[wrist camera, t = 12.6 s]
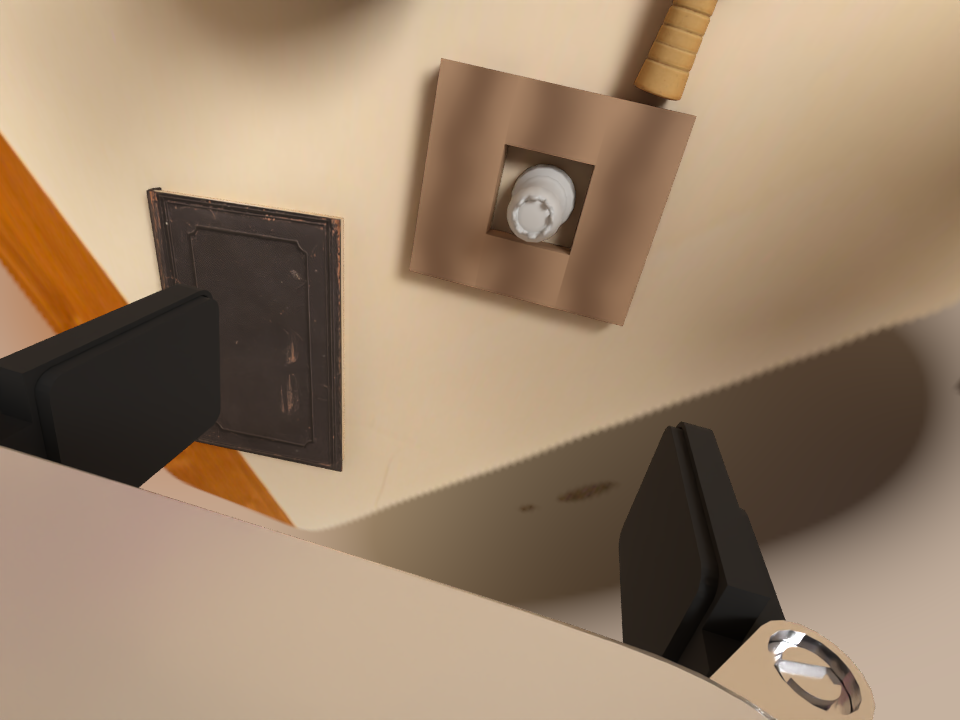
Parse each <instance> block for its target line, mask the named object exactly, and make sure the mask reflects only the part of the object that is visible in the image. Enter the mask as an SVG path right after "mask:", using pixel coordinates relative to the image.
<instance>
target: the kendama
mask: <svg viewBox="0 0 960 720" xmlns="http://www.w3.org/2000/svg"><path fill="white" fill-rule="evenodd" d="M717 1H718V0H673V1H672V3H673V5H672V6H671V7H670V8H669V10H668V12H667V14H666V17H665V19H664V24H663V25H662V26H661V28H660V30H659V32H658V34H657V36H656V39H655V41H654V43H653V45H652V47H651V49H650V51H649V54H648V58H647V59H646V60H645V62H644V64H643V66H642V68H641V70H640V72H639V74H638V76H637V78H636V80H635V82H634V85H635V86H636V87H637V88H639V89H641V90H644V91H646V92H648V93H651V94H653V95H656V96H659V97H662V98H665V99H669V100H674V101H677V100H680V99H681V96H682V93H683V90H684V88H685V85H686V82H687V79H688V76H689V71H690V70H691V68H692V65H693V63H694V60H695V57H696V54H697V52H698V49H699V47H700V44H701V42H702V37H703V36H704V34H705V31H706V29H707V26H708V24H709V22H710V18H709V17H710V16H712V13H713V11H714V8H715V6H716V3H717Z"/></svg>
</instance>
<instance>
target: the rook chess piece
mask: <svg viewBox="0 0 960 720" xmlns="http://www.w3.org/2000/svg"><path fill="white" fill-rule="evenodd" d="M575 198H576V192H575V188H574V185H573V181H572V180H571V179H570V177H569V176H568V175H567V174H566V173H565V171H564V170H562V169H560V168H558V167H556V166H554V165H545V164H539V165H536V166H534V167H531V168H528V169H527V170H526V171H525V172H523V173H522V174H521V175H520V176H519V177H518V179H517V181H516V183H515V185H514V187H513V189H512V196H511V201H510V203H509V205H508V207H507V220H508V223H509V226H510V229H511V230H512V231H513V232H514V234H515V235H516V236H517V237H519V238H521V239H522V240H524V241H526V242H537V243H538V242H541V241H544V240H547V239H549V238H550V237H551V236H552V235H553V234H555V233H556V232H557V230H558V228H559V226H560V225H562V224H563V223H564V222H565V221H566V220H567V219H568V218H569V216H570V214H571V212H572V211H573V209H574V207H575Z"/></svg>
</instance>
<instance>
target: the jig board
mask: <svg viewBox="0 0 960 720" xmlns="http://www.w3.org/2000/svg"><path fill="white" fill-rule="evenodd" d="M695 119H696V116H693V115H689V114H685V113H680V112H676V111H672V110H667V109H663V108H658V107H654V106H650V105H645V104H641V103H636V102H632V101H628V100H623V99H619V98H614V97H610V96H606V95H601V94H597V93H592V92H588V91H584V90H579V89H575V88H570V87H566V86H562V85H557V84H553V83H548V82H544V81H540V80H535V79H531V78H526V77H522V76H518V75H513V74H509V73H505V72H500V71H496V70H491V69H487V68H483V67H478V66H474V65H469V64H465V63H461V62H456V61H452V60H447V59H443V58H441V64H440V70H439V77H438V84H437V90H436V97H435V104H434V110H433V117H432V124H431V130H430V137H429V143H428V150H427V157H426V163H425V170H424V177H423V183H422V190H421V196H420V203H419V210H418V216H417V223H416V230H415V236H414V243H413V250H412V256H411V263H410V269H409V271H413V272H416V273H420V274H424V275H428V276H432V277H436V278H440V279H443V280H447V281H451V282H455V283H459V284H463V285H466V286H470V287H474V288H478V289H482V290H486V291H489V292H493V293H497V294H501V295H505V296H509V297H512V298H516V299H520V300H524V301H528V302H532V303H536V304H539V305H543V306H547V307H551V308H555V309H559V310H562V311H566V312H570V313H574V314H578V315H582V316H585V317H589V318H593V319H597V320H601V321H605V322H609V323H612V324H616V325H620V326H623V324H624V321H625V318H626V315H627V312H628V310H629V307H630V304H631V301H632V298H633V295H634V292H635V290H636V287H637V284H638V281H639V278H640V275H641V273H642V270H643V267H644V264H645V261H646V258H647V256H648V253H649V250H650V247H651V244H652V241H653V238H654V236H655V233H656V230H657V227H658V224H659V221H660V219H661V216H662V213H663V210H664V207H665V204H666V202H667V199H668V196H669V193H670V190H671V187H672V184H673V182H674V179H675V176H676V173H677V170H678V167H679V165H680V162H681V159H682V156H683V153H684V150H685V148H686V145H687V142H688V139H689V136H690V133H691V131H692V128H693V125H694V122H695ZM508 145H511V146H515V147H520V148H524V149H528V150H532V151H536V152H541V153H545V154H549V155H553V156H557V157H562V158H566V159H570V160H574V161H578V162H583V163H587V164H591V165H594V169H593V172H592V176H591V179H590V183H589V186H588V190H587V193H586V197H585V200H584V204H583V207H582V211H581V214H580V218H579V221H578V225H577V228H576V232H575V235H574V239H573V242H572V246H571V249H570V248H566V247H562V246H558V245H554V244H550V243H546V242H542V241H541V242H538V243H537V242H526V241H524V240H522V239H521V238H519V237H517V236H516V235H515V234H511V233H507V232H503V231H499V230H495V229H491V224H492V219H493V215H494V210H495V205H496V201H497V196H498V191H499V187H500V182H501V177H502V173H503V168H504V163H505V158H506V154H507V149H508Z"/></svg>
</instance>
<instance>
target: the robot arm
mask: <svg viewBox="0 0 960 720" xmlns="http://www.w3.org/2000/svg"><path fill="white" fill-rule="evenodd" d="M220 410H221V397H220V339H219V306H218V303H217V301H216V300H214V299H213V297H212V295H211V293H210V292H209V291H207V290H203V289H200V288H196V287H192V286H189V285H185V284H181V283H179V284H175V285H173V286H171V287H168V288H166V289H164V290H161V291H159V292H156V293H154V294H152V295H149V296H147V297H145V298H142V299H140V300H138V301H135V302H133V303H131V304H128V305H126V306H124V307H121V308H119V309H116V310H114V311H112V312H109V313H107V314H105V315H102V316H100V317H98V318H95V319H93V320H91V321H88V322H86V323H84V324H81V325H79V326H76V327H74V328H72V329H69V330H67V331H65V332H62V333H60V334H58V335H55V336H53V337H51V338H48V339H46V340H44V341H41V342H39V343H36V344H34V345H32V346H29V347H27V348H25V349H22V350H20V351H18V352H15V353H13V354H11V355H8V356H6V357H4V358H1V359H0V720H872V719H873V715H874V710H875V703H874V698H873V694H872V690H871V688H870V687H869V685H868V683H867V681H866V679H865V677H864V675H863V674H862V673H861V671H860V670H859V669H858V668H857V666H856V665H855V664H854V663H853V662H852V660H851V659H850V658H849V657H848V656H847V655H846V654H845V653H843V651H842V650H840V649H839V648H838V647H837V646H836V645H835V644H834V643H832V642H831V641H829V640H828V639H826V638H825V637H823V636H822V635H820V634H819V633H818V632H816V631H814V630H812V629H809V628H807V627H805V626H803V625H801V624H798V623H793V622H789V621H786V620H785V618H784V615H783V612H782V609H781V607H780V604H779V601H778V599H777V595H776V593H775V590H774V587H773V584H772V582H771V579H770V576H769V573H768V570H767V568H766V565H765V562H764V560H763V557H762V554H761V551H760V548H759V546H758V543H757V540H756V537H755V534H754V532H753V529H752V526H751V524H750V521H749V518H748V516H747V514H746V512H745V510H743V509H741V508H739V505H738V502H737V500H736V497H735V494H734V491H733V488H732V485H731V483H730V479H729V477H728V474H727V471H726V468H725V465H724V462H723V459H722V456H721V454H720V451H719V448H718V445H717V442H716V439H715V436H714V434H713V432H712V430H710V429H707V428H702V427H699V426H696V425H692V424H688V423H685V422H680V423H679V424H678V425H677V427H676V428H675V427H671V426H668V427H667V428H666V429H665V431H664V433H663V436H662V438H661V440H660V442H659V445H658V447H657V449H656V452H655V454H654V456H653V458H652V461H651V463H650V465H649V468H648V470H647V472H646V475H645V477H644V479H643V482H642V484H641V487H640V489H639V491H638V493H637V495H636V498H635V500H634V502H633V505H632V507H631V509H630V512H629V514H628V516H627V519H626V521H625V523H624V526H623V528H622V531H621V534H620V539H619V563H620V584H621V608H622V629H623V643H622V642H619V641H616V640H614V639H611V638H608V637H605V636H602V635H600V634H597V633H594V632H591V631H588V630H585V629H583V628H580V627H577V626H574V625H571V624H568V623H565V622H562V621H558V620H555V619H552V618H549V617H546V616H543V615H540V614H537V613H533V612H530V611H527V610H524V609H521V608H518V607H514V606H511V605H508V604H505V603H502V602H499V601H496V600H493V599H490V598H486V597H483V596H480V595H477V594H474V593H471V592H468V591H465V590H462V589H458V588H455V587H452V586H449V585H446V584H443V583H439V582H436V581H433V580H430V579H427V578H424V577H421V576H417V575H414V574H411V573H408V572H405V571H402V570H398V569H395V568H392V567H389V566H386V565H383V564H379V563H376V562H373V561H370V560H367V559H364V558H360V557H357V556H354V555H350V554H348V553H344V552H341V551H338V550H335V549H331V548H328V547H325V546H322V545H319V544H315V543H312V542H309V541H306V540H303V539H300V538H296V537H293V536H290V535H287V534H284V533H280V532H277V531H274V530H271V529H267V528H265V527H261V526H258V525H255V524H252V523H249V522H245V521H242V520H239V519H236V518H233V517H229V516H226V515H223V514H220V513H217V512H213V511H210V510H207V509H204V508H201V507H198V506H194V505H191V504H188V503H185V502H181V501H179V500H175V499H172V498H169V497H166V496H162V495H159V494H156V493H153V492H150V491H147V490H143V489H140V488H139V487H140V486H141V485H142V484H143V483H145V482H146V481H147V480H148V479H149V478H151V477H152V476H153V475H154V474H155V473H157V472H158V471H159V470H160V469H161V468H163V467H164V466H165V465H166V464H168V463H169V462H170V461H171V460H172V459H174V458H175V457H176V456H177V455H178V454H180V453H181V452H182V451H183V450H184V449H186V448H187V447H188V446H189V445H190V444H192V443H193V442H194V441H195V440H196V439H198V438H199V437H200V436H201V435H202V434H204V433H205V432H206V431H207V430H208V429H210V428H211V427H212V426H213V425H214V424H215V423H216V421H217V419H218V417H219V415H220Z"/></svg>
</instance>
